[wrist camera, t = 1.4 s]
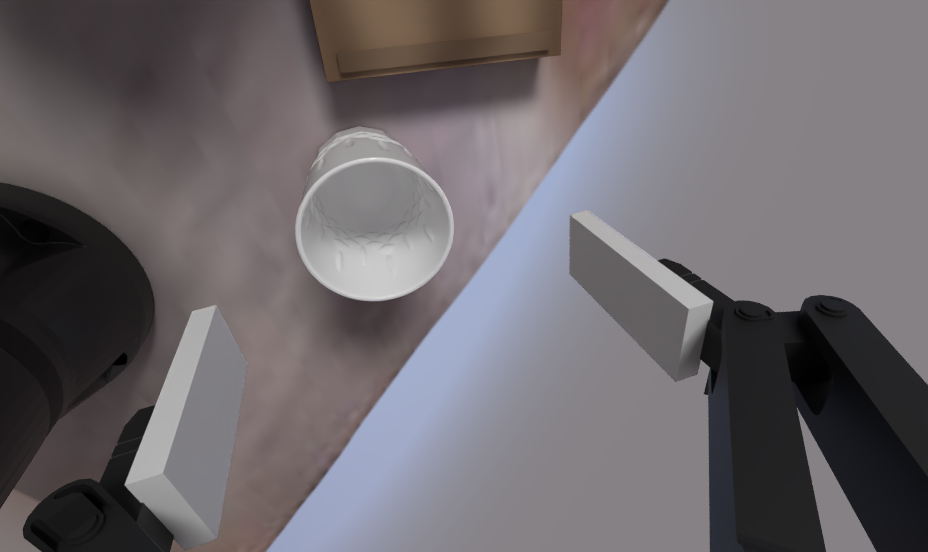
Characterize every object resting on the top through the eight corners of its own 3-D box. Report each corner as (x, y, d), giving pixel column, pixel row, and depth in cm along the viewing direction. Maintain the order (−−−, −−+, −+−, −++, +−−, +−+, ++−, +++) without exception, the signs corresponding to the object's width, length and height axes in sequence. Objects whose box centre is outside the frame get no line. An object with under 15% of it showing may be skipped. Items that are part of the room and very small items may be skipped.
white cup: (438, 195, 33) (477, 256, 25) (345, 247, 33) (353, 325, 25) (384, 93, 29) (409, 126, 20) (277, 153, 29) (258, 210, 20)
